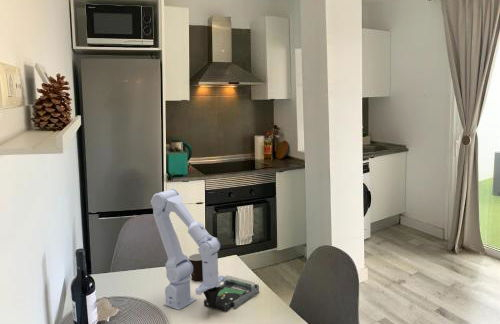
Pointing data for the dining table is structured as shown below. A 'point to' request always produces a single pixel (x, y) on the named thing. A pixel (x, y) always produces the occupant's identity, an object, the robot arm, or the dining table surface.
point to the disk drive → (226, 299)
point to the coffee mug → (196, 267)
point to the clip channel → (241, 284)
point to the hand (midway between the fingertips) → (211, 305)
